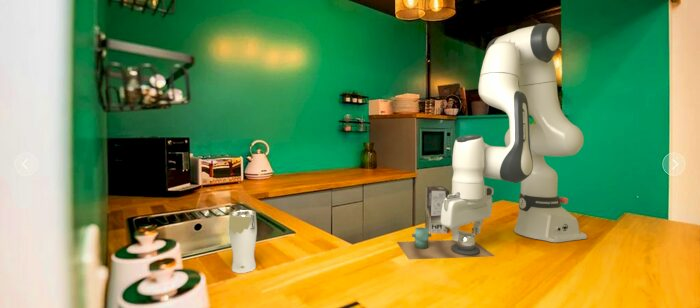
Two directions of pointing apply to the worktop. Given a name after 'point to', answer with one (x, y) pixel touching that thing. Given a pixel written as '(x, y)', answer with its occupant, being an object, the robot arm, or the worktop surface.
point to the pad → (469, 253)
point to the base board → (433, 247)
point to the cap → (466, 241)
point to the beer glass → (243, 240)
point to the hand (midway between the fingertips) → (466, 237)
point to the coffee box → (435, 209)
